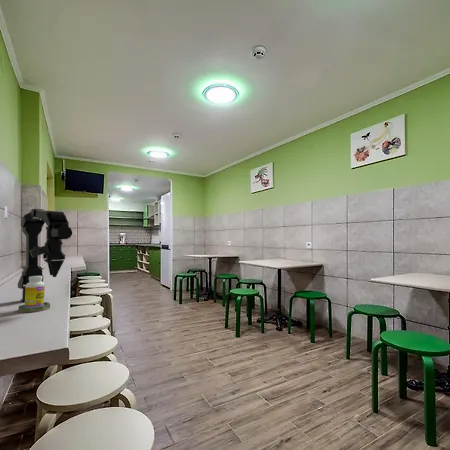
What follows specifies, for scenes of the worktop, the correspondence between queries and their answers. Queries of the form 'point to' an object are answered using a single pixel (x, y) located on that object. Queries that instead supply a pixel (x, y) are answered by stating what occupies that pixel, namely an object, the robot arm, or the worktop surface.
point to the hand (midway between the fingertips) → (53, 276)
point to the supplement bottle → (34, 292)
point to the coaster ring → (34, 308)
